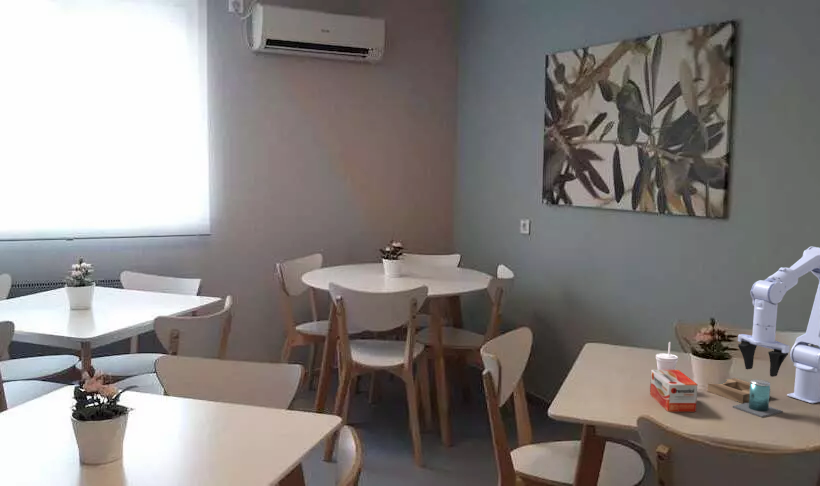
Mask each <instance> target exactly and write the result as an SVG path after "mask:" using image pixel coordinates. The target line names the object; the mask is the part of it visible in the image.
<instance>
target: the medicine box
mask: <svg viewBox="0 0 820 486" xmlns="http://www.w3.org/2000/svg"><path fill="white" fill-rule="evenodd" d="M650 375H651V376H650V387H649V394H650V397H652V398H653V399H654V400H655V401H656V402H657V403H658V405H660V406H661V407H662V408H663V409H664V410H665V411H666V412H668V413H671V412H672V413H680V412H682V413H685V412H686V413H696V411H697V398H698V383H697V382H695V381H694V380H692V379H691V377H688V375H686V374H685V373H683V372H682V371H680V370H679V369H675V370H657V369H651V373H650Z"/></svg>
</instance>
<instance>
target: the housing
mask: <svg viewBox="0 0 820 486" xmlns="http://www.w3.org/2000/svg"><path fill="white" fill-rule="evenodd" d="M726 380H727V381H726V382H725V383H723V384H707V392H708V393H711V394H715V395H716V396H720V397H723V398H726V399H728V400H731V401H734V402H737V401H738V403H740V404H744V403H748V402H749V393H750V381H749V382H748V381H745V380H742V379H739V378H736V377H734V378H728V379H726ZM770 396H771V393H770V394H769V398H771V397H770Z"/></svg>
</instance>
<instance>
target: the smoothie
mask: <svg viewBox="0 0 820 486" xmlns="http://www.w3.org/2000/svg"><path fill="white" fill-rule="evenodd" d="M671 344H672V343H671V341H669V342H668V350H667V353H664V352H662V353H656V354H655V359H656V365H657V369H656V370H676V369H677V368H676V367H677V364H678V363H677V362H678V361H679V357H678V356H677V355H675V354H672V353H671Z"/></svg>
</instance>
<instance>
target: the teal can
mask: <svg viewBox="0 0 820 486" xmlns="http://www.w3.org/2000/svg"><path fill="white" fill-rule="evenodd" d="M749 383H750V393H749V408H750V409H752V410H756V411H768V408H769V406H770V397H769V394H770V395H771V382H770V381H768V380H764V379H758V378H757V379H751V380H750V381H749Z"/></svg>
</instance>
